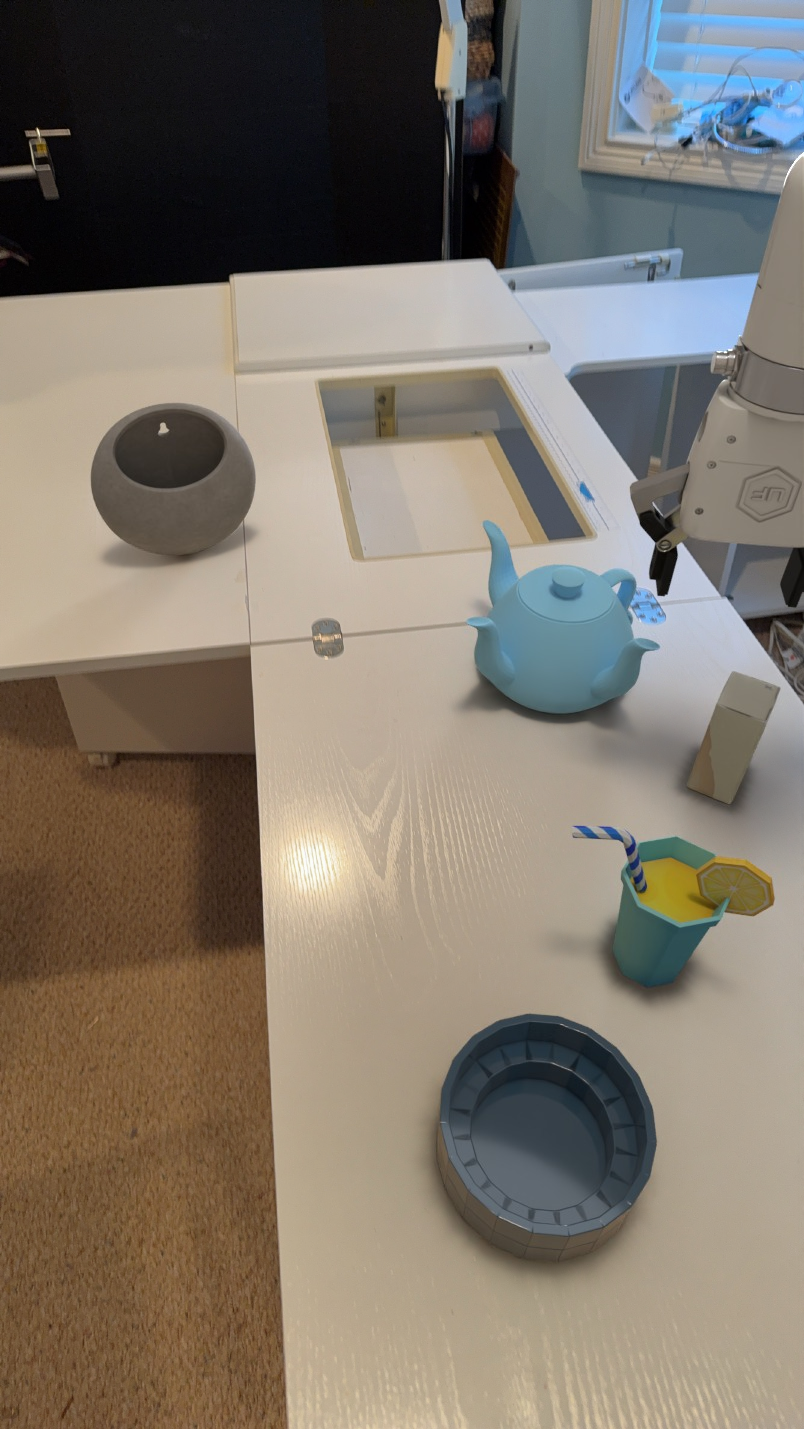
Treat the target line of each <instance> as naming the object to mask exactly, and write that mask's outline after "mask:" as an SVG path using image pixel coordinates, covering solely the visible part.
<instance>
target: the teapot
mask: <svg viewBox="0 0 804 1429" xmlns="http://www.w3.org/2000/svg"><path fill="white" fill-rule="evenodd" d="M482 527H483V529H484V531H485V533H486V535H487V538H488V541H489V543H490V549H491V550H490V551H491V559H490V567H489V574H488V587H487V588H488V589H487V590H488V596H489V600H490V603H491V605H492V608H491V610H490V611H489V613H488V614H487V616H486V617H485V616H473V617H470V618H467V619H466V621H465V623H466V624H467V625H469V626H470V627H473V628H474V629H476V630H477V637H476V642H475V645H474V646H475V647H474V651H473V658H474V662H475V665H476V668H477V670H478V671H479V673H481V674H482V675H483V677H485V678H486V679H487V680H489V681H490V683H491V684H492V685H494V687H495V688H496V689H498V691H500V692H501V693H502V694H503V695H504V696H506V697H507V698H509V699H510V700H511V701H513V702H515V703H517V704H519V705H520V706H522V707H525V708H527V709H529V710H533V711H536V712H540V713H545V714H554V715H555V714H556V715H565V714H576V713H579V712H584V711H588V710H590V709H594V708H596V707H598V706H601V705H602V704H605V703H607V702H609V701H610V700H612V699H615V698H618V697H620V696H623V695H624V694H626V693H628V692H629V691H630V690H631V689H632V688H634V686H635V685H636V683H637V681H638V679H639V676H640V674H641V673H640V672H641V666H642V665H641V664H642V660H643V656H644V655H645V653H647V652H650V651H651V652H652V651H653V652H654V651H658V650H659V649H660V648H661V646H660V644H659V643H657V642H656V641H654V640H651V639H649V638H645V637H636V638H635V636H634V631H633V627H632V625H633V621H634V617H633V613H632V612H631V611H630V609H629V607H630V606H631V603H632V602H633V600H634V597H635V594H636V591H637V585H638V584H637V579H636V578H635V576H634V574H632V573H631V572H630V571H629V570H628V569H625V568H621V567H615V568H614V567H613V568H611V569H608V570H606V571H605V572H603V573H602V574H597V573H595V572H594V571H591V570H589V569H587V568H584V567H580V566H576V565H571V564H549V565H543V566H539V567H537V568H534V569H532V570H530V571H528V572H527V573H525V574H524V575H523V576H521V577H519V575H518V574H517V570H516V569H515V565H514V561H513V557H512V552H511V549H510V545H509V542H508V540H507V537H506V535H505V533H504V532H503V530H502V529H501V528H500V527H499V526H498V525H497V524H496V523H494V522H493V521H491V520H489V519H486V520H483V521H482ZM618 584H620V585H619V588H618V590H617V593H616V591H615V590H614V588H613V587H615V586H616V585H618Z"/></svg>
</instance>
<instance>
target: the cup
mask: <svg viewBox="0 0 804 1429" xmlns="http://www.w3.org/2000/svg"><path fill="white" fill-rule="evenodd" d="M571 835H572V838H573V839H589V840H590V839H591V840H610V841H619V842H621V843H622V844H623V847H624V850H625V854H626V857H627V860H626V862H625V863H624V865H623V867H622V869H621V870H620V871H621V872H620V881H621V883H622V885H623V886H622V890H621V891H622V892H621V896H620V897H621V898H620V903H619V908H618V909H619V910H618V916H617V920H616V921H617V922H616V927H615V933H614V940H613V945H612V953H613V955H614V958H615V960H616V962H617V965H618V967H619V970H620V972H621V974H622V975H623V976H625V977H626V978H628V979H630V980H632V981H634V982H636V983H637V984H640V985H641V986H643V987H645V988H653V987H658V986H663V985H668V984H673V982H674V981H675V980H676V979H677V977H678V976H679V974H680V972H681V971H682V969H683V968H684V967H685V965H686V964H687V962H688V961H689V959H690V958H691V956H692V955H693V954H694V952H695V950H696V949H697V947H698V946H699V944H700V943H701V941H702V940H703V939H704V937H705V936H706V934H707V933H708V931H709V930H710V929H711V928H713V927H714V928H715V927H717V925H718V924H719V923H720V922H721V920H722V918H723V916H724V914H725V913H726V914H734V915H738V916H739V915H740V916H747V917H755V916H757V915H759V914H760V913H762V912H764V911H765V910H767V909H769V908H771V907H772V906H774V904H775V900H776V898H775V890H774V885H773V877H771V875H769V874H768V873H766V872H765V871H763V870H762V869H760V868H759V867H757V866H756V865H755V864H753V863H752V862H751V861H749V859H743V858H734V857H726V856H717V854H716V853H714V852H712V851H710V850H708V849H706V848H703V847H701V846H699V845H697V844H695V843H693V842H691V841H688V840H687V839H684V838H682V837H680V836H677V835H673V836H666V837H661V838H660V837H659V838H655V839H649V840H643V841H638V842H637V843H636V839H635V837H634V836H633V835H632V834H631V833H630V832H629V831H628V830H626V829H624V828H623V827H621V826H601V825H597V826H596V825H572V826H571Z"/></svg>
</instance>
